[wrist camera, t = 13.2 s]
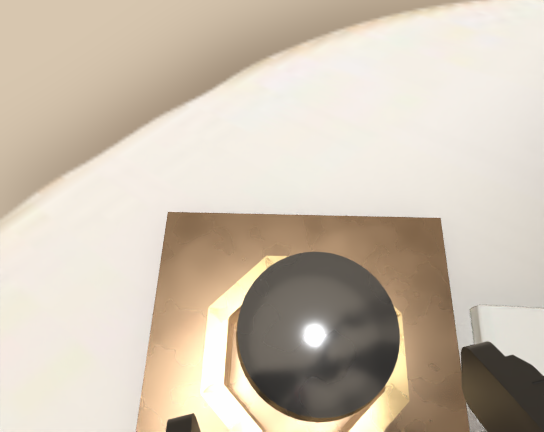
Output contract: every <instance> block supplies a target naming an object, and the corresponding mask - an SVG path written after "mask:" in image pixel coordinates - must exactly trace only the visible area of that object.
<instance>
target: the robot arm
mask: <svg viewBox="0 0 544 432" xmlns="http://www.w3.org/2000/svg"><path fill="white" fill-rule="evenodd" d="M461 370H462V391H463V394H464V397H465V400H466V402H467V404H468V406H469V408H470V409H471V410H472V412H473V413H474V414H475V416H476V417H477V418H478V420H479V421H480V422H481V424H482V425H483V426H484V428H485V429H486V430H487V432H544V376H543V375H542V374H541V373H540V372H539V371H538V370H537V369H536V368H535V367H534V366H533V365H531V364H530V363H528V362H526V361H524V360H522V359H520V358H518V357H516V356H514V355H509V356H504V355H503V354H502V353H501V352H500V351H499V350H498V349H497V348H496V347H495V346H494V345H493V344H492V343H491V342H489V341H486V342H482V343H478V344H474V345H470V346H466V347H463V348H462V351H461ZM166 432H201V431H200V427H199V424H198V421H197V418H196V416H195V414H194V413H192V414H188V415H184V416H180V417H176V418H172V419H168V421H167V424H166Z"/></svg>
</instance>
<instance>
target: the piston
mask: <svg viewBox="0 0 544 432" xmlns="http://www.w3.org/2000/svg"><path fill="white" fill-rule="evenodd" d="M236 347H237V353H238V358H239V361H240V365H241V367H242V370H243V372H244V374H245V377H246V378H247V380H248V382H249V383H250V385H251V386H252V388H253V389H254V390H255V392H256V393H257V394H258V395H259V396H260V397H261V398H262V399H263V400H264V401H265V402H266V403H267V404H269V405H270V406H271V407H273V408H274V409H275V410H277V411H279V412H281V413H282V414H284V415H287V416H289V417H292V418H294V419H298V420H302V421H306V422H317V423H319V422H331V421H336V420H341V419H343V418H346V417H349V416H351V415H353V414H355V413H357V412H359V411H360V410H362V409H363V408H364V407H366V406H367V405H368V404H370V403H371V402H372V401H373V400H374V399H375V398H376V397H377V395H378V394H379V393H380V391H381V390H382V389H383V388H384V386H385V385H386V384H387V382H388V380H389V378H390V377H391V375H392V373H393V370H394V368H395V365H396V363H397V358H398V354H399V347H400V328H399V322H398V317H397V314H396V311H395V308H394V305H393V303H392V301H391V299H390V297H389V295H388V294H387V292H386V290H385V289H384V287H383V286H382V285H381V284H380V282H379V281H378V280H377V279H376V278H375V277H374V276H373V275H372V274H371V273H370V272H369V271H367V270H366V269H365V268H364V267H362V266H361V265H359V264H357V263H356V262H354V261H352V260H350V259H348V258H346V257H343V256H340V255H336V254H332V253H327V252H304V253H299V254H295V255H292V256H288V257H286V258H284V259H281V260H279V261H277V262H276V263H274V264H273V265H271V266H270V267H268V268H267V269H266V270H265V271H264V272H262V273H261V274H260V275H259V277H258V278H257V279H256V280H255V281H254V282H253V284H252V285H251V287H250V288H249V290H248V292H247V294H246V295H245V297H244V300H243V303H242V305H241V309H240V313H239V317H238V321H237V328H236Z"/></svg>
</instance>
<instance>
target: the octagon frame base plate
mask: <svg viewBox="0 0 544 432" xmlns="http://www.w3.org/2000/svg"><path fill="white" fill-rule="evenodd" d="M304 252H327V253H332V254H336V255H340V256H343V257H346V258H348V259H350V260H352V261H354V262H356V263H357V264H359V265H361V266H362V267H364V268H365V269H366V270H367V271H369V272H370V273H371V274H372V275H373V276H374V277H375V278H376V279H377V280H378V281H379V282H380V284H381V285H382V286H383V287H384V289H385V290H386V292H387V294H388V295H389V297H390V299H391V301H392V303H393V305H394V308H395V311H396V314H397V317H398V322H399V328H400V347H399V354H398V358H397V363H396V365H395V368H394V370H393V373H392V375H391V377H390V378H389V380H388V382H387V384H386V385H385V386H384V388H383V389H382V390H381V391H380V393H379V394H378V395H377V397H376V398H375V399H374V400H373V401H372V402H371V403H370V404H368V405H367V406H366V407H364V408H363V409H362V410H360V411H359V412H357V413H355V414H353V415H351V416H349V417H346V418H343V419H341V420H336V421H331V422H319V423H317V422H306V421H302V420H298V419H294V418H292V417H289V416H287V415H284V414H282V413H281V412H279V411H277V410H275V409H274V408H273V407H271V406H270V405H269V404H267V403H266V402H265V401H264V400H263V399H262V398H261V397H260V396H259V395H258V394H257V393H256V392H255V390H254V389H253V388H252V386H251V385H250V383H249V382H248V380H247V378H246V377H245V374H244V372H243V370H242V367H241V365H240V361H239V358H238V353H237V347H236V328H237V321H238V317H239V313H240V309H241V305H242V303H243V300H244V297H245V295H246V294H247V292H248V290H249V288H250V287H251V285H252V284H253V282H254V281H255V280H256V279H257V278H258V277H259V275H260V274H261V273H262V272H264V271H265V270H266V269H267V268H268V267H270V266H271V265H273V264H274V263H276V262H277V261H279V260H281V259H284V258H286V257H288V256H292V255H295V254H299V253H304ZM192 413H194V414H195V416H196V418H197V421H198V424H199V427H200V431H201V432H470V430H469V423H468V416H467V408H466V401H465V397H464V394H463V391H462V372H461V364H460V357H459V350H458V343H457V335H456V328H455V321H454V313H453V306H452V299H451V291H450V284H449V277H448V269H447V262H446V255H445V248H444V240H443V233H442V226H441V218H413V217H368V216H323V215H277V214H232V213H187V212H168V215H167V222H166V229H165V235H164V242H163V249H162V256H161V263H160V270H159V277H158V283H157V290H156V297H155V304H154V311H153V318H152V324H151V331H150V338H149V345H148V352H147V359H146V366H145V372H144V379H143V386H142V393H141V400H140V407H139V413H138V420H137V427H136V432H166V424H167V421H168V419H172V418H176V417H180V416H184V415H188V414H192Z"/></svg>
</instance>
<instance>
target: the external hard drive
mask: <svg viewBox="0 0 544 432" xmlns="http://www.w3.org/2000/svg"><path fill="white" fill-rule="evenodd" d="M470 317H471V324H472V332H473V340H474V344H478V343H482V342H486V341H489V342H491V343H492V344H493V345H494V346H495V347H496V348H497V349H498V350H499V351H500V352H501V353H502V354H503V355H504V356H509V355H514V356H516V357H518V358H520V359H522V360H524V361H526V362H528V363H530V364H531V365H533V366H534V367H535V368H536V369H537V370H538V371H539V372H540V373H541V374H542V375H543V376H544V308H532V307H513V306H497V305H477V306H475V307H473V308H471V309H470ZM485 432H487V430H486V429H485Z"/></svg>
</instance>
